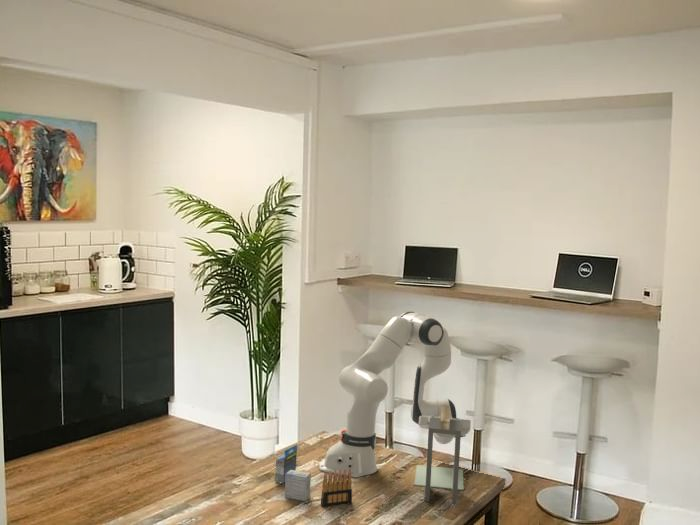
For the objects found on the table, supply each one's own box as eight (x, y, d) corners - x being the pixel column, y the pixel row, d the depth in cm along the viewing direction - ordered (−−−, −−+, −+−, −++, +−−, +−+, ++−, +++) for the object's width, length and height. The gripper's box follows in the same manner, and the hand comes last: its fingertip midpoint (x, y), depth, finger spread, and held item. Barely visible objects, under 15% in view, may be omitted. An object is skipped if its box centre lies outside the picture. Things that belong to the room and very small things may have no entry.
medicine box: (310, 497, 236) (311, 472, 236) (305, 502, 232) (306, 477, 232) (289, 493, 239) (290, 469, 238) (284, 498, 235) (285, 473, 234)
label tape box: (286, 473, 256) (288, 441, 255) (296, 476, 255) (297, 443, 254) (274, 481, 248) (275, 448, 248) (283, 484, 247) (285, 450, 246)
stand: (424, 501, 237) (428, 428, 235) (426, 487, 249) (429, 418, 247) (456, 504, 235) (460, 430, 234) (456, 490, 247) (460, 420, 245)
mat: (413, 485, 251) (414, 484, 250) (416, 465, 270) (416, 464, 270) (463, 490, 248) (463, 489, 248) (462, 470, 268) (462, 469, 268)
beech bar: (440, 429, 235) (440, 420, 234) (441, 412, 254) (441, 404, 254) (449, 429, 234) (449, 421, 234) (449, 413, 254) (449, 405, 254)
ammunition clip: (349, 501, 234) (351, 467, 234) (351, 503, 233) (353, 469, 232) (320, 505, 230) (322, 470, 229) (322, 507, 229) (323, 472, 228)
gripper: (418, 417, 277) (418, 408, 265) (469, 421, 274) (471, 413, 262) (417, 432, 275) (417, 424, 262) (469, 437, 272) (471, 429, 259)
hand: (444, 419), depth 262 cm, fingers open, 8 cm apart
